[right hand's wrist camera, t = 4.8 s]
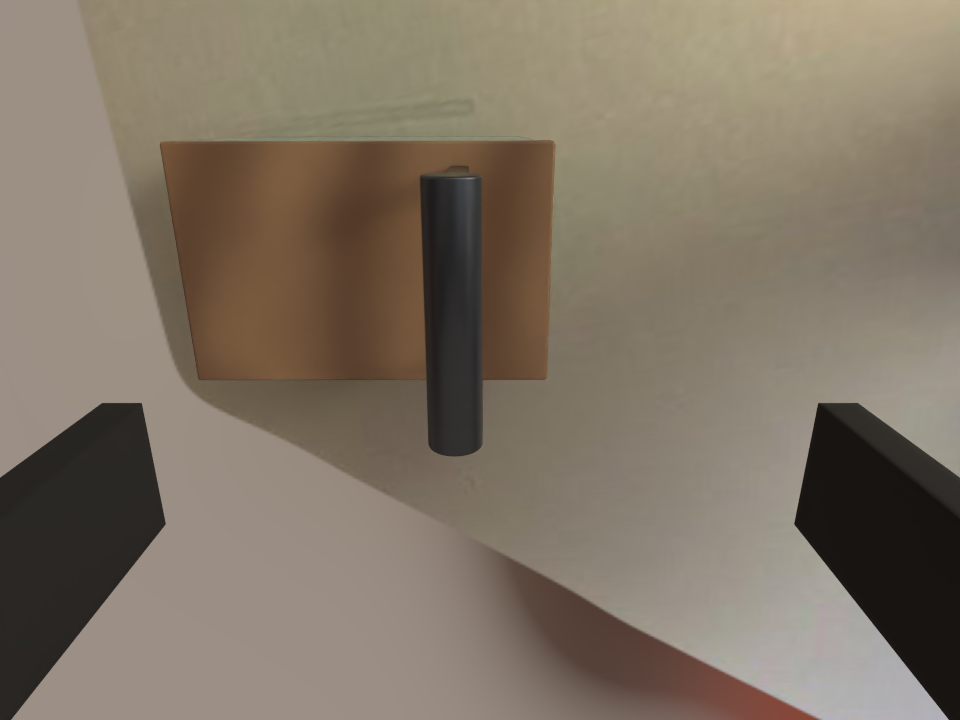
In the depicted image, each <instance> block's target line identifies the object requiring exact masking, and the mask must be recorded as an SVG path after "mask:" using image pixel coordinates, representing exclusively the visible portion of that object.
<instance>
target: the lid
mask: <svg viewBox="0 0 960 720" xmlns="http://www.w3.org/2000/svg"><path fill="white" fill-rule="evenodd" d="M160 148H161V154H162V160H163V166H164V173H165V179H166V185H167V191H168V197H169V203H170V209H171V215H172V221H173V227H174V233H175V239H176V245H177V251H178V257H179V263H180V269H181V275H182V282H183V288H184V294H185V300H186V306H187V312H188V318H189V324H190V330H191V336H192V342H193V348H194V354H195V360H196V366H197V372H198V378H199V380H427V410H428V441H429V446H430V448H431V449H432V450H433V451H434V452H436V453H438V454H441V455H445V456H464V455H468V454H471V453H474V452H476V451H477V450H479V449H480V447H481V446H482V443H483V380H545V379H546V378H547V358H548V331H549V303H550V276H551V248H552V221H553V193H554V166H555V142H554V141H550V140H493V141H169V142H161V143H160Z"/></svg>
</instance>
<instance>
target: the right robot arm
mask: <svg viewBox="0 0 960 720" xmlns="http://www.w3.org/2000/svg"><path fill="white" fill-rule="evenodd" d="M165 524H166V523H165V518H164V513H163V508H162V503H161V498H160V493H159V488H158V483H157V478H156V473H155V468H154V463H153V458H152V453H151V448H150V443H149V438H148V433H147V428H146V423H145V418H144V413H143V407H142V403H102V404H100V405H99V406H98V407H96V408H95V409H94V410H92V411H91V412H89V413H88V414H87V415H85V416H84V417H83V418H81V419H80V420H79V421H77V422H76V423H74V424H73V425H72V426H70V427H69V428H68V429H66V430H65V431H63V432H62V433H61V434H59V435H58V436H57V437H55V438H54V439H53V440H51V441H50V442H48V443H47V444H46V445H44V446H43V447H42V448H40V449H39V450H38V451H36V452H35V453H33V454H32V455H31V456H29V457H28V458H27V459H25V460H24V461H22V462H21V463H20V464H18V465H17V466H16V467H14V468H13V469H12V470H10V471H9V472H7V473H6V474H5V475H3V476H2V477H1V478H0V720H11V719H12V718H13V716H14V715H15V714H16V713H17V711H18V710H19V709H20V708H21V706H22V705H23V704H24V703H25V701H26V700H27V699H28V698H29V696H30V695H31V694H32V693H33V691H34V690H35V689H36V687H37V686H38V685H39V684H40V682H41V681H42V680H43V679H44V677H45V676H46V675H47V674H48V672H49V671H50V670H51V668H52V667H53V666H54V665H55V663H56V662H57V661H58V660H59V658H60V657H61V656H62V655H63V653H64V652H65V651H66V650H67V648H68V647H69V646H70V644H71V643H72V642H73V641H74V639H75V638H76V637H77V636H78V634H79V633H80V632H81V631H82V629H83V628H84V627H85V626H86V624H87V623H88V622H89V620H90V619H91V618H92V617H93V615H94V614H95V613H96V612H97V610H98V609H99V608H100V607H101V605H102V604H103V603H104V602H105V600H106V599H107V598H108V596H109V595H110V594H111V593H112V591H113V590H114V589H115V588H116V586H117V585H118V584H119V583H120V581H121V580H122V579H123V577H124V576H125V575H126V574H127V572H128V571H129V570H130V569H131V567H132V566H133V565H134V564H135V562H136V561H137V560H138V558H139V557H140V556H141V555H142V553H143V552H144V551H145V550H146V548H147V547H148V546H149V545H150V543H151V542H152V541H153V540H154V538H155V537H156V536H157V534H158V533H159V532H160V531H161V529H162V528H163V527H164V526H165ZM794 524H795V526H796V527H797V528H798V529H799V531H800V532H801V533H802V535H803V536H804V537H805V538H806V540H807V541H808V542H809V543H810V545H811V546H812V547H813V548H814V550H815V551H816V552H817V553H818V555H819V556H820V557H821V559H822V560H823V561H824V562H825V564H826V565H827V566H828V567H829V569H830V570H831V571H832V572H833V574H834V575H835V576H836V578H837V579H838V580H839V581H840V583H841V584H842V585H843V586H844V588H845V589H846V590H847V591H848V593H849V594H850V595H851V596H852V598H853V599H854V600H855V602H856V603H857V604H858V605H859V607H860V608H861V609H862V610H863V612H864V613H865V614H866V615H867V617H868V618H869V619H870V620H871V622H872V623H873V624H874V626H875V627H876V628H877V629H878V631H879V632H880V633H881V634H882V636H883V637H884V638H885V639H886V641H887V642H888V643H889V644H890V646H891V647H892V648H893V650H894V651H895V652H896V653H897V655H898V656H899V657H900V658H901V660H902V661H903V662H904V663H905V665H906V666H907V667H908V669H909V670H910V671H911V672H912V674H913V675H914V676H915V677H916V679H917V680H918V681H919V682H920V684H921V685H922V686H923V687H924V689H925V690H926V691H927V693H928V694H929V695H930V696H931V698H932V699H933V700H934V701H935V703H936V704H937V705H938V706H939V708H940V709H941V710H942V711H943V713H944V714H945V715H946V717H947V718H948V719H949V720H960V478H959V477H958V476H957V475H955V474H954V473H953V472H951V471H950V470H948V469H947V468H946V467H944V466H943V465H942V464H940V463H939V462H938V461H936V460H935V459H933V458H932V457H931V456H929V455H928V454H927V453H925V452H924V451H922V450H921V449H920V448H918V447H917V446H916V445H914V444H913V443H912V442H910V441H909V440H907V439H906V438H905V437H903V436H902V435H901V434H899V433H898V432H897V431H895V430H894V429H892V428H891V427H890V426H888V425H887V424H886V423H884V422H883V421H881V420H880V419H879V418H877V417H876V416H875V415H873V414H872V413H871V412H869V411H868V410H866V409H865V408H864V407H862V406H861V405H860V404H858V403H818V407H817V413H816V418H815V423H814V428H813V433H812V438H811V443H810V448H809V453H808V458H807V463H806V468H805V473H804V478H803V483H802V488H801V493H800V498H799V503H798V508H797V513H796V518H795V523H794Z"/></svg>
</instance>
